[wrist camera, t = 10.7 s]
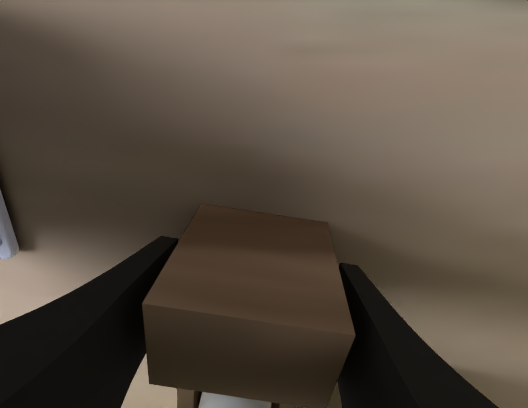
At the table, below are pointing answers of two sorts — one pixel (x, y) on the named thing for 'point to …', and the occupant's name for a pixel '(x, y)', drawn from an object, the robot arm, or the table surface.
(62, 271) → the table surface
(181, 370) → the wooden slotted rack
